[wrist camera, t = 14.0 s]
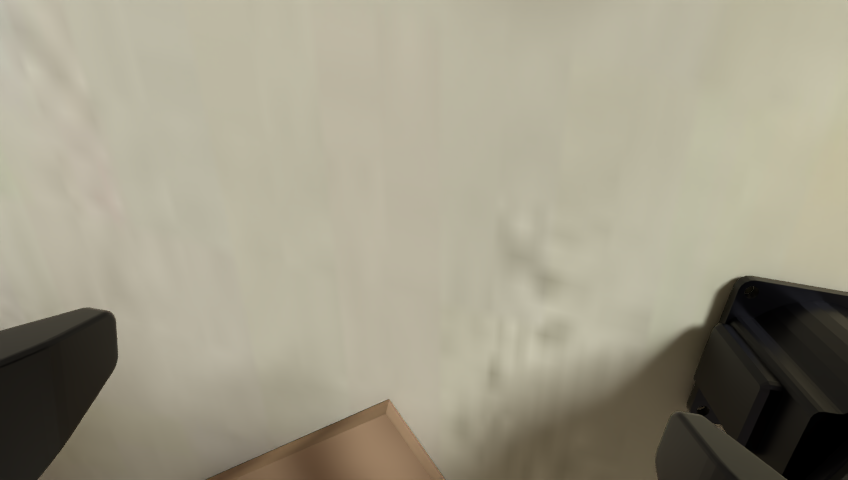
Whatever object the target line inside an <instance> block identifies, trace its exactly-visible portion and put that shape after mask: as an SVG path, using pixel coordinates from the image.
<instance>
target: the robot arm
mask: <svg viewBox="0 0 848 480" xmlns="http://www.w3.org/2000/svg"><path fill="white" fill-rule="evenodd" d="M750 286H754V289H753V290H752V292H750V293H748V294H744V293H745V290H746V289H747V288H748V287H750ZM117 359H118V346H117V330H116V319H115V317H114V315H113V314H112V313H111V312H110V311H106V310H100V309H94V308H81V309H78V310H74V311H71V312H67V313H63V314H60V315H56V316H52V317H49V318H45V319H41V320H38V321H34V322H31V323H27V324H23V325H20V326H16V327H12V328H9V329H5V330H2V331H0V480H38V478H39V477H40V476H41V475H42V473H43V472H44V471H45V470H46V468H47V467H48V466H49V465H50V463H51V462H52V461H53V460H54V458H55V457H56V456H57V454H58V453H59V452H60V450H61V449H62V448H63V446H64V445H65V443H66V442H67V441H68V439H69V438H70V436H71V435H72V433H73V432H74V430H75V429H76V427H77V426H78V424H79V423H80V421H81V420H82V418H83V416H84V415H85V413H86V412H87V410H88V409H89V407H90V406H91V404H92V403H93V401H94V400H95V398H96V397H97V395H98V394H99V392H100V391H101V389H102V387H103V386H104V384H105V383H106V381H107V380H108V378H109V377H110V375H111V374H112V372H113V370H114V369H115V366H116V363H117ZM694 380H695V385H694V387H693V390H692V392H691V395H690V397H689V400H688V402H687V409H688V411H689V413H688V412H682V411H676V412H674V413H673V414H672V415H671V416H670V418H669V420H668V423H667V426H666V428H665V431H664V433H663V436H662V439H661V441H660V444H659V446H658V449H657V452H656V459H655V463H656V471H657V477H658V480H848V292H843V291H837V290H832V289H826V288H820V287H814V286H808V285H802V284H796V283H790V282H785V281H779V280H773V279H767V278H761V277H755V276H745V277H742V278H740V279H739V280H737V281H736V283H735V284H734V286H733V289H732V291H731V294H730V296H729V299H728V301H727V304H726V306H725V309H724V311H723V314H722V316H721V319H720V321H719V324H717V325H716V326H715V327H714V328H713V330H712V332H711V335H710V337H709V340H708V342H707V345H706V347H705V350H704V352H703V355H702V358H701V360H700V363H699V365H698V368H697V370H696V373H695V375H694ZM700 406H705V407H704V408H703V409H701V410H697V409H698V407H700ZM713 423H714V424H720V425H722V426H723V428H724V430H725V431H726V433H727V434H726V433H725V432H724V431H722V430H721V429H720V428H718V427H717V426H716V425H714V424H713Z"/></svg>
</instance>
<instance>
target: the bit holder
mask: <svg viewBox="0 0 848 480" xmlns="http://www.w3.org/2000/svg"><path fill="white" fill-rule="evenodd" d="M206 480H445V479H444V477H443V476H442V474H441V473H440V471H439V470H438V469H437V467H436V466H435V464H434V463H433V461H432V460H431V459H430V457H429V456H428V454H427V453H426V451H425V450H424V448H423V447H422V446H421V444H420V443H419V441H418V440H417V438H416V437H415V436H414V434H413V433H412V431H411V430H410V428H409V427H408V425H407V424H406V423H405V421H404V420H403V418H402V417H401V415H400V414H399V413H398V411H397V410H396V408H395V407H394V405H393V404H392V402H391V401H390V400H386V401H384V402H382V403H380V404H377V405H375V406H373V407H370V408H368V409H366V410H364V411H361V412H359V413H357V414H354V415H352V416H350V417H348V418H345V419H343V420H341V421H338V422H336V423H334V424H332V425H329V426H327V427H325V428H322V429H320V430H318V431H316V432H313V433H311V434H309V435H307V436H304V437H302V438H300V439H297V440H295V441H293V442H291V443H288V444H286V445H284V446H281V447H279V448H277V449H275V450H272V451H270V452H268V453H265V454H263V455H261V456H259V457H256V458H254V459H252V460H249V461H247V462H245V463H243V464H240V465H238V466H236V467H234V468H231V469H229V470H227V471H224V472H222V473H220V474H218V475H215V476H213V477H211V478H208V479H206Z"/></svg>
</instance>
